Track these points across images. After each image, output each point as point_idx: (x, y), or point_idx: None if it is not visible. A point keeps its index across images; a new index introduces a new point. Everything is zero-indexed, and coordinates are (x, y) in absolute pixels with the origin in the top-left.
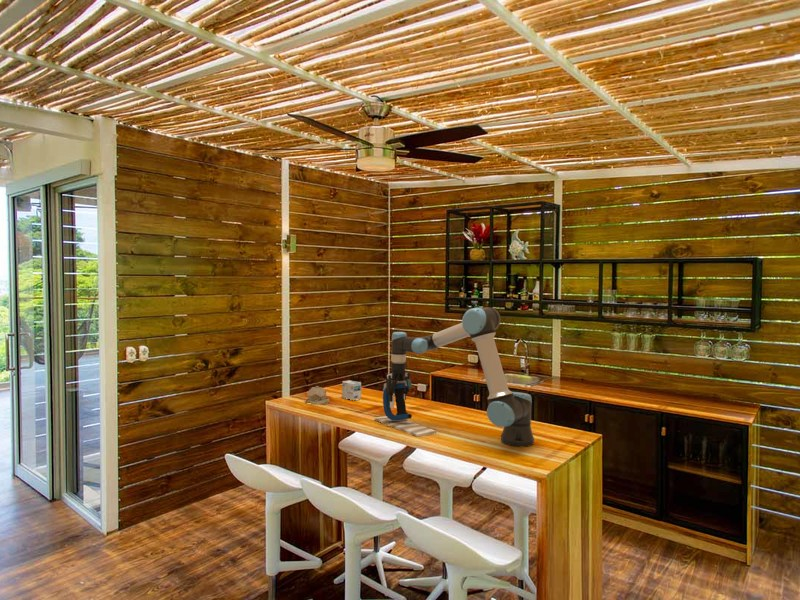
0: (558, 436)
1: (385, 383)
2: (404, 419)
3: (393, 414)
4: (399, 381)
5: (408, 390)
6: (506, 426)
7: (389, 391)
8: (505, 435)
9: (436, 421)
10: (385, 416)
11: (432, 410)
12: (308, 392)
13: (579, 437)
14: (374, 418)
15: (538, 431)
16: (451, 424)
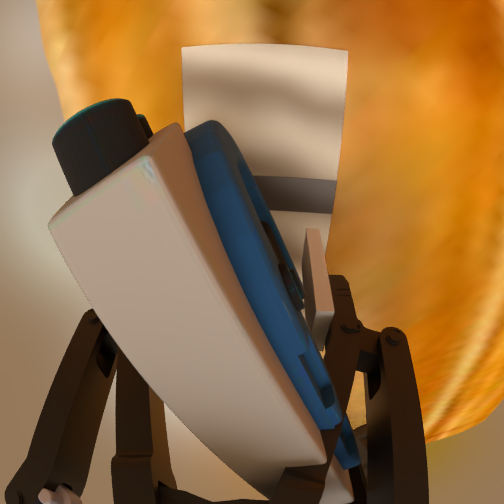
0: (450, 423)
1: (63, 254)
2: (329, 188)
3: (246, 184)
4: (248, 483)
5: (374, 376)
6: (362, 459)
7: (104, 367)
8: None
9: (445, 265)
10: (274, 51)
11: None
12: None
13: (458, 428)
14: (182, 49)
15: (468, 406)
16: (436, 319)
